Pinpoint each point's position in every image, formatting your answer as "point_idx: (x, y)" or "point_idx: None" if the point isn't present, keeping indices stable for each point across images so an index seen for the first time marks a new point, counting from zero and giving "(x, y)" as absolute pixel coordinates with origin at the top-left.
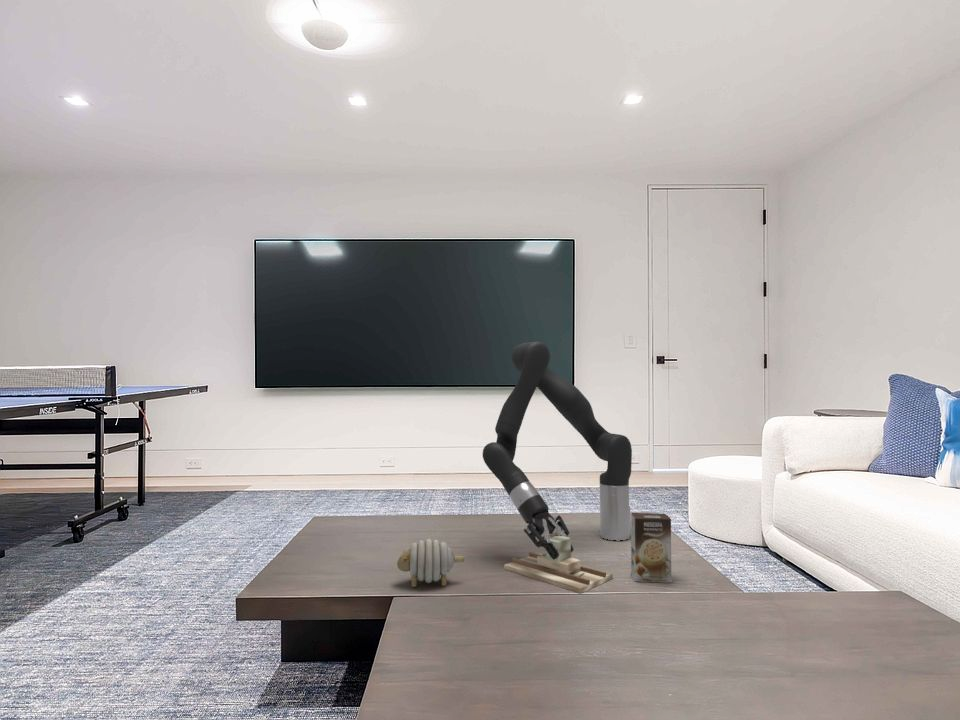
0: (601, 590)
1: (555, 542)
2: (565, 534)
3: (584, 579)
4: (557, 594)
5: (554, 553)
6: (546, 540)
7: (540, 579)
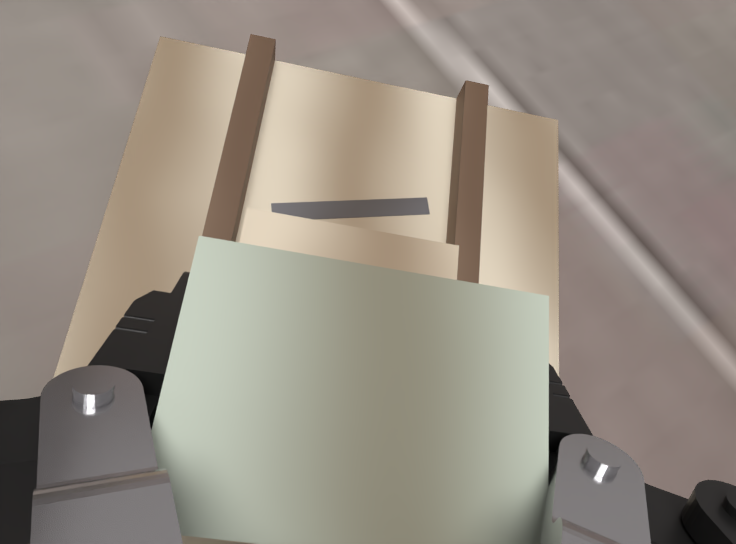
0: (416, 59)
1: (542, 345)
2: (76, 385)
3: (480, 111)
4: (652, 246)
5: None
6: (639, 486)
7: None
